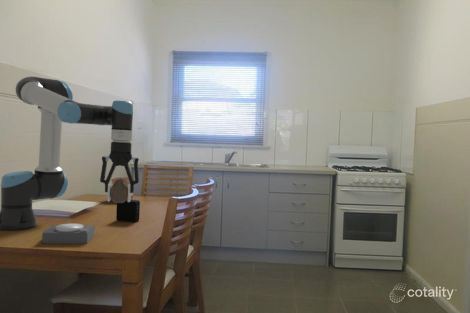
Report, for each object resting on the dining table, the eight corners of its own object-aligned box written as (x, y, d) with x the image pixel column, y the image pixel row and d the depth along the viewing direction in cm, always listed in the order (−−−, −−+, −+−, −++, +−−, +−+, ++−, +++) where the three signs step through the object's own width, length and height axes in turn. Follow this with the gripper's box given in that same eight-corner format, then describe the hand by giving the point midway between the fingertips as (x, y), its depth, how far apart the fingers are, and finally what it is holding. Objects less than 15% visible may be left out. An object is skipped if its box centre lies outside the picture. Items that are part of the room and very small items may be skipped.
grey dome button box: (42, 243, 141) (42, 230, 141) (52, 234, 153) (52, 222, 153) (87, 243, 144) (87, 230, 144) (94, 235, 156) (94, 223, 155)
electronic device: (135, 222, 181) (136, 201, 180) (116, 220, 183) (116, 200, 182) (139, 220, 185) (140, 200, 184) (120, 219, 187) (121, 198, 186)
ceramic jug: (110, 197, 245) (110, 175, 244) (133, 197, 248) (134, 176, 247) (107, 203, 227) (107, 179, 226) (132, 203, 231) (133, 180, 230)
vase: (116, 199, 151) (117, 177, 151) (131, 201, 149) (132, 179, 149) (105, 202, 145) (106, 179, 144) (121, 204, 143) (122, 181, 142)
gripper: (92, 140, 140) (90, 202, 142) (146, 143, 143) (144, 203, 145) (96, 140, 148) (94, 198, 149) (148, 142, 151) (145, 200, 152)
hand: (119, 201), depth 147 cm, fingers closed on vase, 7 cm apart
